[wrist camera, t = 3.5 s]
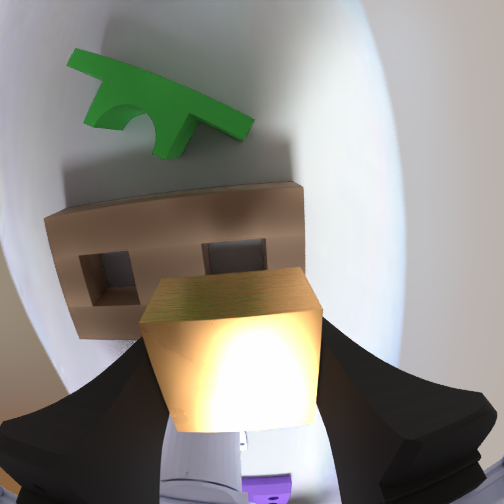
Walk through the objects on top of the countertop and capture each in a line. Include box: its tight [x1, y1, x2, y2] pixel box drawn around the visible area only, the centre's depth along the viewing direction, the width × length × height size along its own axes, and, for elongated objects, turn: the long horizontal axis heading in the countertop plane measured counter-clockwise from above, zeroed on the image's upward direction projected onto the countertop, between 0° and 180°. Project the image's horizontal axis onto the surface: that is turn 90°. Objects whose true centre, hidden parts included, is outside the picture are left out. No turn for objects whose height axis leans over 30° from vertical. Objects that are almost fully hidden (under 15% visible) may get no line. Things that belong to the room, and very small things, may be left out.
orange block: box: [139, 267, 323, 432], centre depth 11 cm, size 5×5×6 cm
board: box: [44, 181, 305, 340], centre depth 18 cm, size 9×16×3 cm, turn 94°
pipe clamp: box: [66, 48, 255, 160], centre depth 15 cm, size 11×4×5 cm, turn 61°
